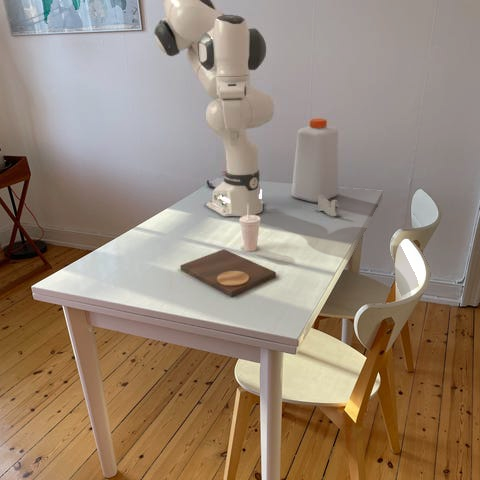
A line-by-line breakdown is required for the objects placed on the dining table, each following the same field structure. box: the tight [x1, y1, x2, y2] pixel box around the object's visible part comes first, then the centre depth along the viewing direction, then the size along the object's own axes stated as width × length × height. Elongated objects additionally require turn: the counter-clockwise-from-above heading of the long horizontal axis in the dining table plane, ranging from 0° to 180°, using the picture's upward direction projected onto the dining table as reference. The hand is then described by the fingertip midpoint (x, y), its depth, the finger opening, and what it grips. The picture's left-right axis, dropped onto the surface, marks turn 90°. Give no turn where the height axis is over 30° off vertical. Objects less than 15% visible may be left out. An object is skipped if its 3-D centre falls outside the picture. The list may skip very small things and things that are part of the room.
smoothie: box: [238, 204, 262, 252], centre depth 148 cm, size 6×6×14 cm
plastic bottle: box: [291, 118, 339, 204], centre depth 186 cm, size 15×15×28 cm
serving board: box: [180, 248, 277, 298], centre depth 137 cm, size 22×16×2 cm
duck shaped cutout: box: [317, 195, 340, 217], centre depth 174 cm, size 6×1×10 cm
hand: (235, 142), depth 138 cm, fingers open, 8 cm apart
